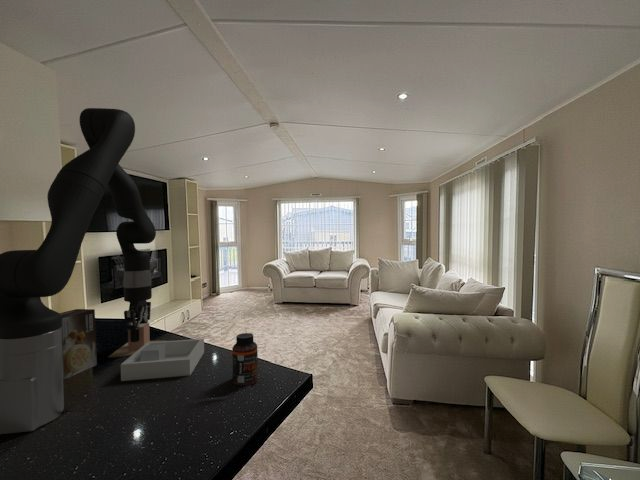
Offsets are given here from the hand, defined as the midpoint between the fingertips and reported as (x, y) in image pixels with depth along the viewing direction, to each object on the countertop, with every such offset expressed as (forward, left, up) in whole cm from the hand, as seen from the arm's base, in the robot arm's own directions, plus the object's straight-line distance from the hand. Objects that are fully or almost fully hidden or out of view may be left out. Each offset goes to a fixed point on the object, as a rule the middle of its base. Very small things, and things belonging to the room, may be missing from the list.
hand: (139, 338), depth 97 cm
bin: (-15, -13, -4) cm, 20 cm away
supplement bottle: (-28, -35, -4) cm, 45 cm away
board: (0, 0, -4) cm, 4 cm away
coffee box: (-14, +11, -4) cm, 18 cm away
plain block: (-15, -10, -3) cm, 18 cm away
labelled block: (0, 0, -3) cm, 3 cm away
